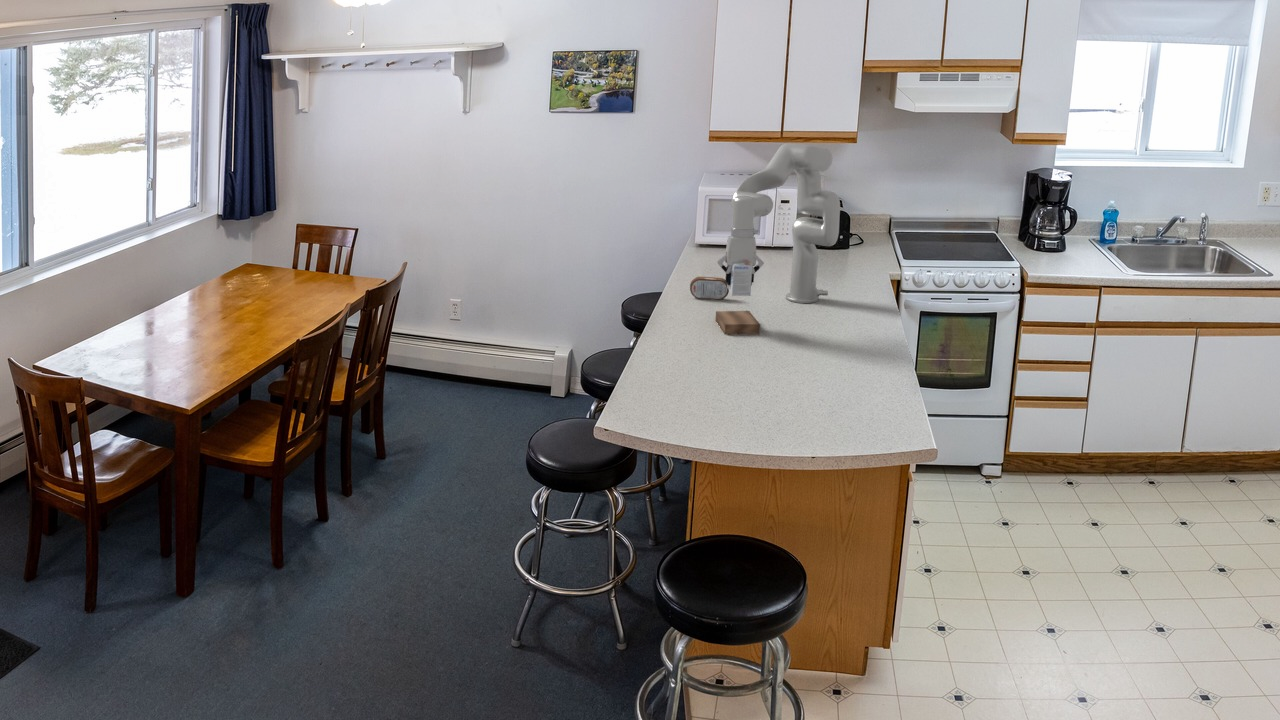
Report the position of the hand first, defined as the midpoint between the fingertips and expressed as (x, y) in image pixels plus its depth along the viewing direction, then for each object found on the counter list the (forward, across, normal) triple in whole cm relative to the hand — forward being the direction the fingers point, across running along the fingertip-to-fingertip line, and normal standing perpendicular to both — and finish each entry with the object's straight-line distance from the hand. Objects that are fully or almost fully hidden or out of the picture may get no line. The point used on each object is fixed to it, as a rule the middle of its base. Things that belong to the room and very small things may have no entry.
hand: (739, 284), depth 355 cm
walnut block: (+16, 0, 0) cm, 16 cm away
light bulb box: (+3, 0, 0) cm, 3 cm away
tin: (+16, +5, -37) cm, 41 cm away
